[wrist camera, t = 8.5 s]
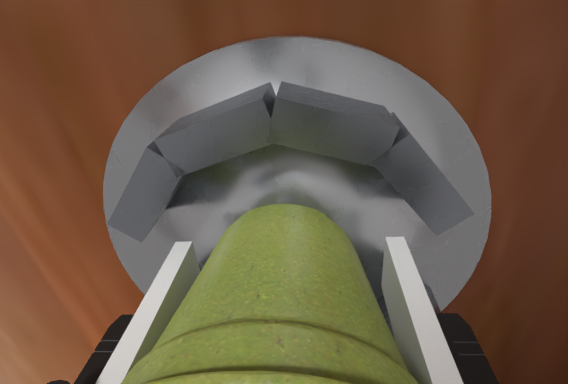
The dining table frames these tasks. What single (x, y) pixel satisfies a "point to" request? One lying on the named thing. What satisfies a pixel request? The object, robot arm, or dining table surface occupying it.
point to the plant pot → (277, 311)
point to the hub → (300, 159)
